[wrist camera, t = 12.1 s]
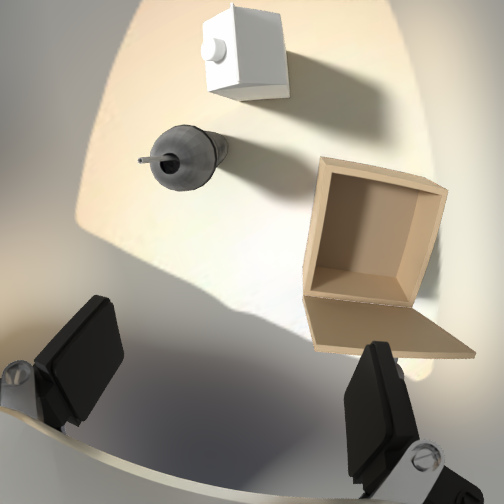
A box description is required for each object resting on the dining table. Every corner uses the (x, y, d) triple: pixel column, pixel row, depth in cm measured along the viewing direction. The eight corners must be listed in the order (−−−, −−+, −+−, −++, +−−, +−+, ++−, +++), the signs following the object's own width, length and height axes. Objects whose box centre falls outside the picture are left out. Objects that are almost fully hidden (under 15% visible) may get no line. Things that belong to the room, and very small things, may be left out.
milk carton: (286, 50, 34) (277, -3, 16) (290, 98, 36) (285, 77, 19) (233, 54, 35) (187, 10, 18) (237, 101, 38) (192, 87, 20)
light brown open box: (320, 156, 39) (325, 164, 32) (424, 177, 38) (448, 190, 31) (302, 267, 46) (303, 294, 39) (397, 279, 45) (411, 307, 38)
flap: (316, 344, 22) (301, 409, 23) (476, 352, 21) (454, 409, 22) (303, 295, 39) (295, 339, 40) (412, 307, 38) (401, 349, 38)
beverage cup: (206, 182, 43) (143, 230, 25) (178, 142, 41) (97, 163, 23) (247, 155, 41) (207, 184, 23) (219, 113, 39) (156, 109, 21)
